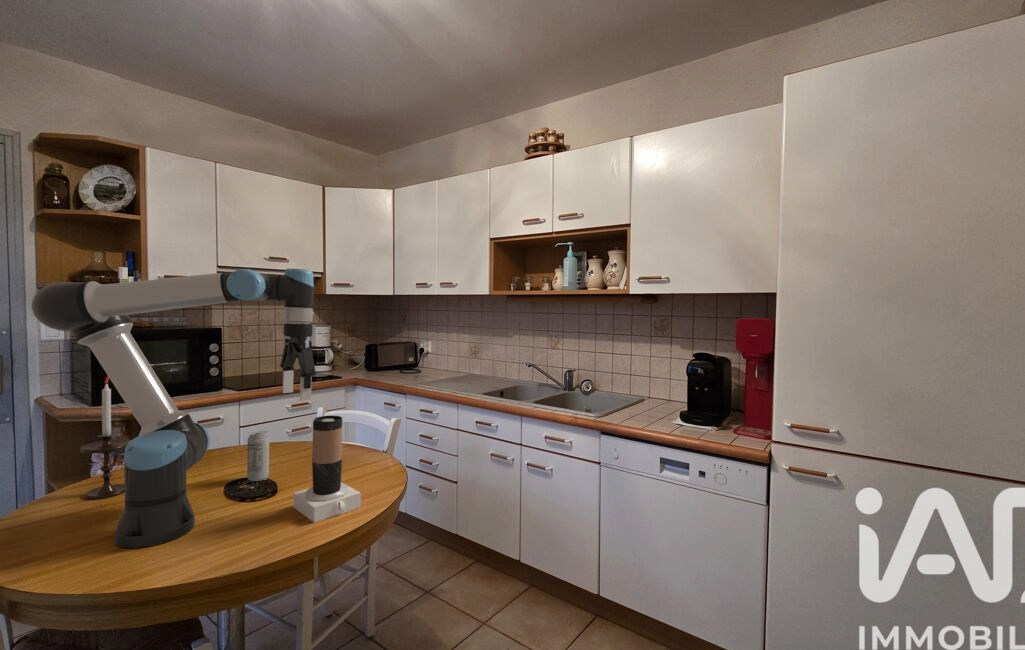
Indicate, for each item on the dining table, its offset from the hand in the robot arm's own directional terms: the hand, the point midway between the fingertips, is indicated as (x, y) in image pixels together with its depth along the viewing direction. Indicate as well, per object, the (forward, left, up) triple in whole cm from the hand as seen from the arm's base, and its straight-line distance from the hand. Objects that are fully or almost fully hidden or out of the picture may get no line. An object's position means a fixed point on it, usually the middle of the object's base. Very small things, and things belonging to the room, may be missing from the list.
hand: (296, 396), depth 129 cm
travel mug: (+3, -13, -25) cm, 28 cm away
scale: (+3, -13, -30) cm, 32 cm away
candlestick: (-37, +41, -30) cm, 62 cm away
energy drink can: (-3, +22, -30) cm, 37 cm away
